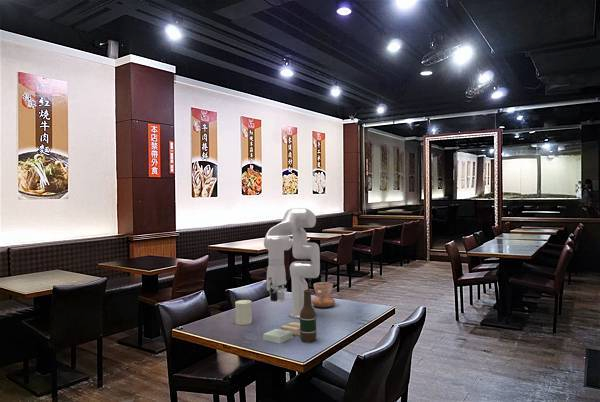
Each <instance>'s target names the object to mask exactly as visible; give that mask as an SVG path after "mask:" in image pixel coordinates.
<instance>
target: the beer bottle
mask: <svg viewBox="0 0 600 402" xmlns="http://www.w3.org/2000/svg"><path fill="white" fill-rule="evenodd" d="M303 293H304V306H303V308H302V310H301V313H300V318H299V323H300V334H299V336H300V341H302V342H303V343H313V342H315V341H317V315H316V311H315V309H314V307H313V304H312V294H311V293H312V290H311V289H308V290H304V292H303Z"/></svg>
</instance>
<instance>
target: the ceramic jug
mask: <svg viewBox="0 0 600 402" xmlns="http://www.w3.org/2000/svg"><path fill="white" fill-rule="evenodd" d="M333 286H334V284H333V283H331V282H325V281H324V282H315V283H313V289H314V291H315V294H316V296H314V297H313V299H312V298H311V302H312V306H314V307H317V308H321V309H323V308H324V309H325V308H330V307H332V306H334V305H335V304H336V300H335V299H334V298H333V297H332V296H331V293H332V290H333Z"/></svg>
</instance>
